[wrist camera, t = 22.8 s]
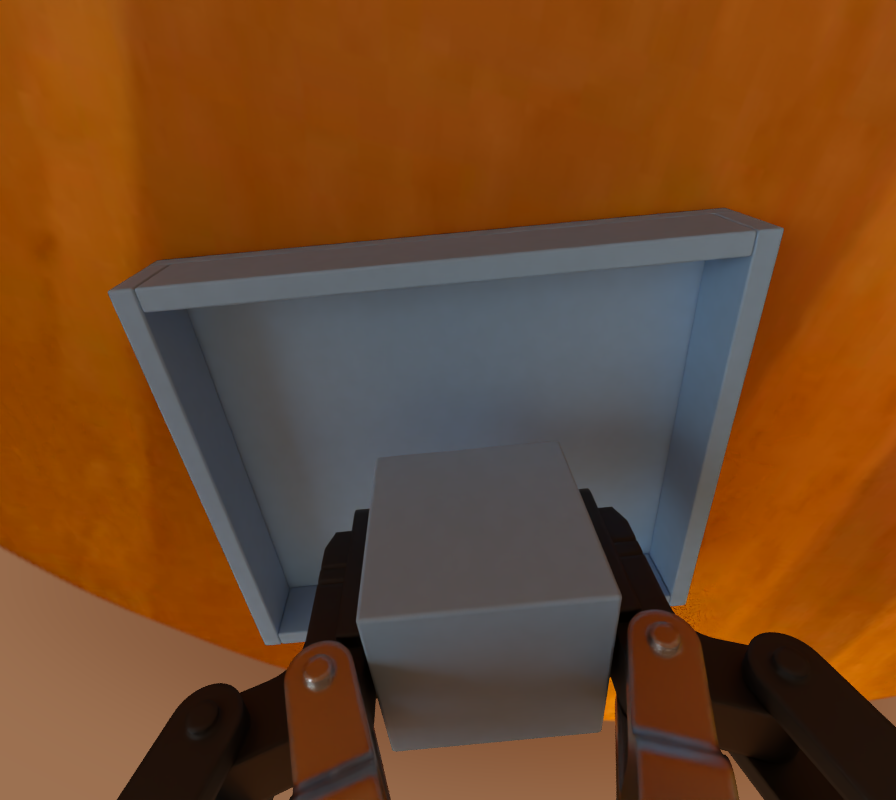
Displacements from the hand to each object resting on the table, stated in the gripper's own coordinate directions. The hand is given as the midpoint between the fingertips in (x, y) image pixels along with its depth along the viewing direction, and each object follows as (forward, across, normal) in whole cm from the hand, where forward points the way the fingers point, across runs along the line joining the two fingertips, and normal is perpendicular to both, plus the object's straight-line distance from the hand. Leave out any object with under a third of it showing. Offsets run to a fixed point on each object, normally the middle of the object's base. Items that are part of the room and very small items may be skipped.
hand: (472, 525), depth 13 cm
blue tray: (+4, 0, 0) cm, 4 cm away
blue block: (0, 0, 0) cm, 0 cm away
